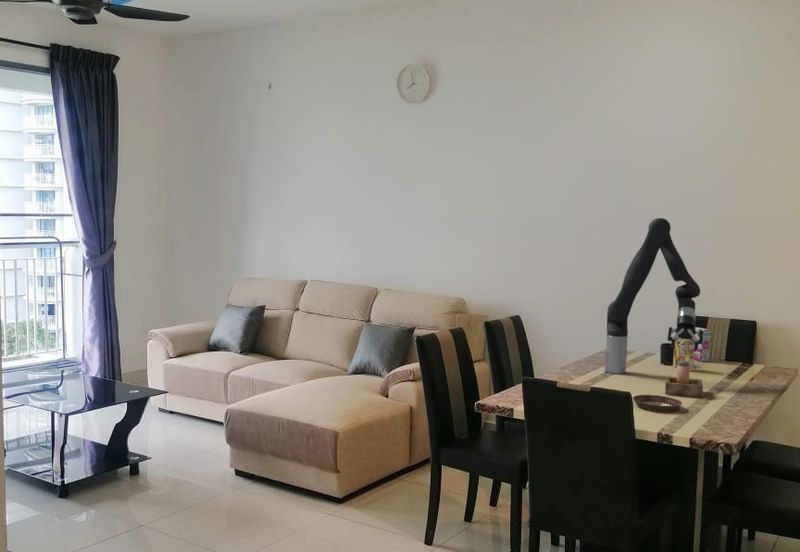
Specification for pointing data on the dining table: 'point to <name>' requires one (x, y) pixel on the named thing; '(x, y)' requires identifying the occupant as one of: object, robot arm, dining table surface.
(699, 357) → the candy bar box
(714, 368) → the dining table surface
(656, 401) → the plant saucer
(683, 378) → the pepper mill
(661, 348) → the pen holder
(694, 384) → the bin
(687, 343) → the candy box
